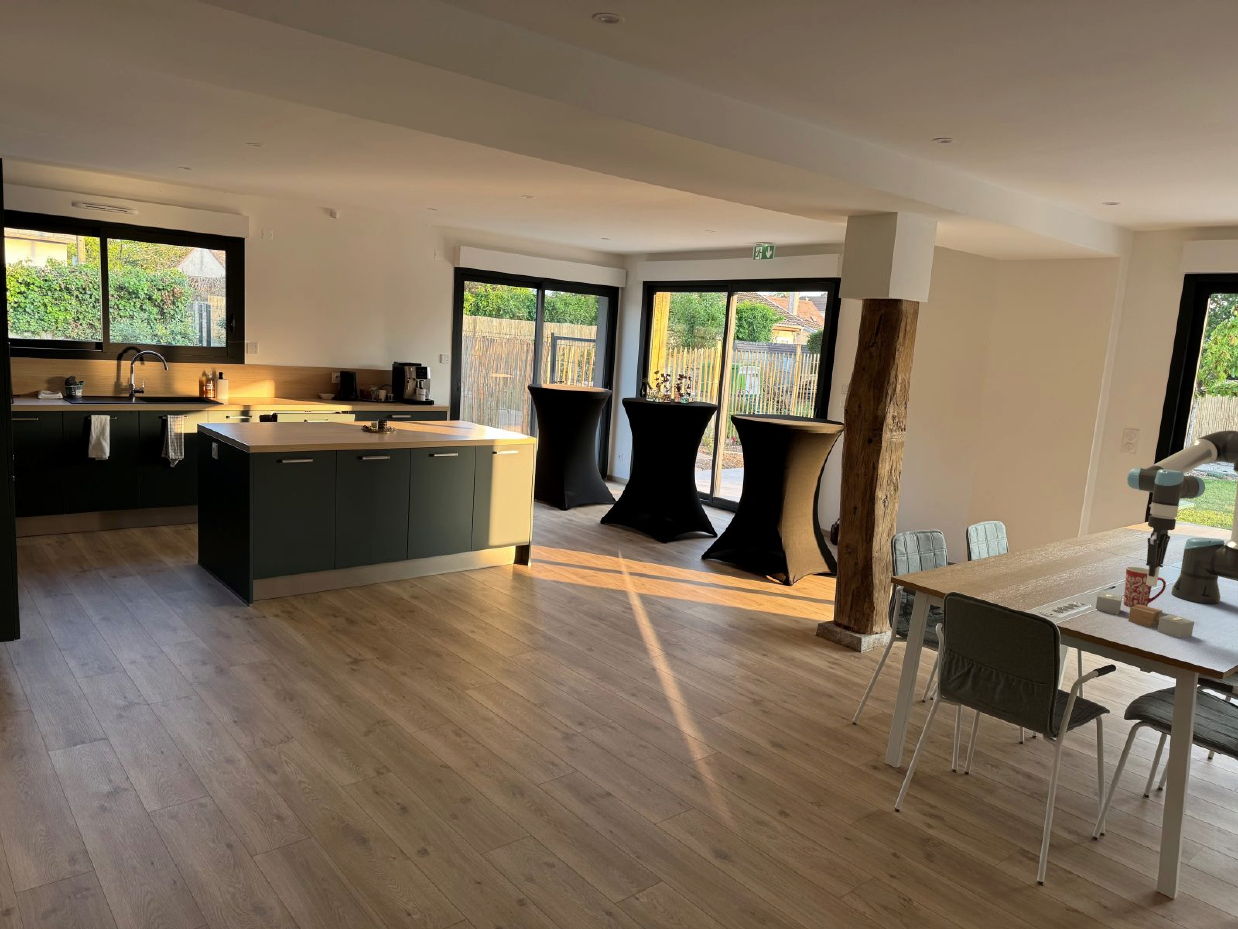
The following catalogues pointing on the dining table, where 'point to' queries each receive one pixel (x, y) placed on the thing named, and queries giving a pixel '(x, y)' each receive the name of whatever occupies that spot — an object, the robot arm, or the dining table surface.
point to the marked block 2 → (1175, 626)
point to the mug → (1138, 587)
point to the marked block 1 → (1108, 603)
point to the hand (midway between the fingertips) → (1151, 585)
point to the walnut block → (1145, 615)
